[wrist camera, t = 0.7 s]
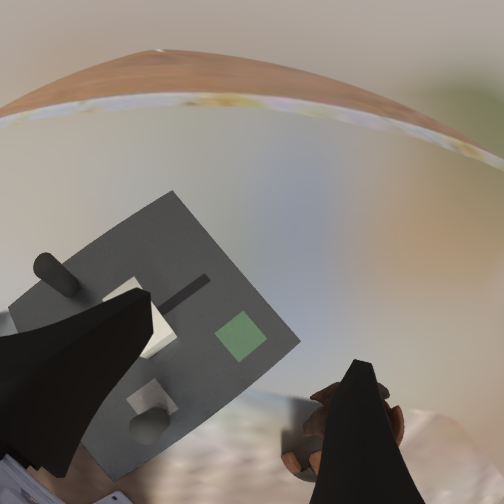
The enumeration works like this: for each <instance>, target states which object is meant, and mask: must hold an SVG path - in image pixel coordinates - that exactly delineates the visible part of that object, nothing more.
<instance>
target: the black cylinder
mask: <svg viewBox="0 0 504 504" xmlns="http://www.w3.org/2000/svg"><path fill="white" fill-rule="evenodd" d="M33 270H34V273H35V275H36V276H37V277H39V278H40V279H41V280H43V281H44V282H45V283H47V284H48V285H49V286H51V287H52V288H54V289H55V290H56V291H58V292H59V293H61V294H62V295H63V296H65V297H71V296H73V295H75V294H76V292H77V290H78V287H79V283H78V280H77V278H76V277H75V276H74V275H72V274H71V273H70V272H69V271H68V270H67V269H66V268H65V267H64V266H63V265H62V264H61V263H60V262H59V261H57V259H55V257H54V256H52V255H51V254H50V253H42V254H40V255H39V256H38V257H37V258H36V260H35V262H34V266H33Z"/></svg>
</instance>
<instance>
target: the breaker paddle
mask: <svg viewBox="0 0 504 504" xmlns="http://www.w3.org/2000/svg"><path fill="white" fill-rule="evenodd" d="M136 287H138V288H140V289H142V287H141V286H140V284H139V283H138V281H137V280H136V278H135V277H132V278H131V279H129V280H128V281H127V282H125V283H124V284H122V285H121V286H120V287H118V288H117V289H115V290H114V291H113V292H111V293H110V294H108V295H107V296H106V297H104V298H103V299H102V300H103V302H105V301H107V300H109V299H111V298H113V297H116V296H118V295H120V294H122V293H124V292H126V291H129V290H131V289H133V288H136ZM151 306H152V318H153V329H154V334H153V335H152V337H151V339H150V340H149V342H148V344H147V345H146V347H145V349H144V350H143V352H142V353H141V355H140V357H143V358H146V359H149V358H150V357H151V356H153V355H154V354H155V353H157V352H158V351H159V350H161V349H162V348H164V347H165V346H166V345H168V344H169V343H170V342H172V341H173V340H174V339H176V338H177V336H176V334H175V333H174V331H173V330H172V329H171V327H170V326H169V325H168V323H167V322H166V321H165V319H164V318H163V317H162V315H161V314H160V313H159V311H158V310H157V308H156V307H155V306H154V304H153V303H152V301H151Z"/></svg>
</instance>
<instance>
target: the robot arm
mask: <svg viewBox="0 0 504 504" xmlns="http://www.w3.org/2000/svg"><path fill="white" fill-rule="evenodd" d="M153 334H154V329H153V318H152V306H151V293H150V292H148V291H145V290H143V289H140V288H138V287H136V288H133V289H131V290H129V291H126V292H124V293H122V294H120V295H118V296H116V297H113V298H111V299H109V300H107V301H105V302H103V303H101V304H98V305H96V306H94V307H92V308H90V309H88V310H85V311H83V312H81V313H78V314H76V315H73V316H71V317H69V318H66V319H64V320H61V321H59V322H56V323H53V324H50V325H47V326H44V327H41V328H38V329H34V330H31V331H27V332H22V333H18V334H13V335H9V336H3V337H0V504H38V503H39V504H66V503H65V502H63V501H62V500H61V499H60V498H58V497H57V496H56V495H54V494H53V493H52V492H51V491H49V490H48V489H47V488H46V487H45V486H44V485H42V484H41V483H40V482H39V481H38V480H37V479H35V478H34V477H33V476H32V475H31V474H30V473H29V472H28V471H27V470H26V469H27V468H28V467H29V466H30V465H31V466H32V467H33V468H34V469H35V470H36V471H38V470H39V469H40V467H41V466H42V467H44V468H45V469H46V470H47V471H49V472H50V473H51V474H52V475H54V476H55V477H56V478H63V477H65V476H66V473H67V470H68V468H69V465H70V463H71V460H72V458H73V456H74V453H75V451H76V449H77V447H78V445H79V443H80V441H81V439H82V437H83V435H84V433H85V431H86V430H87V428H88V426H89V424H90V422H91V421H92V419H93V417H94V416H95V414H96V412H97V411H98V409H99V407H100V406H101V404H102V403H103V401H104V400H105V398H106V397H107V396H108V394H109V393H110V392H111V391H112V389H113V388H114V387H115V386H116V384H117V383H118V382H119V381H120V380H121V378H122V377H123V376H124V375H125V373H126V372H127V371H128V370H129V369H130V367H131V366H132V365H133V364H134V362H135V361H136V360H137V359H138V357H139V356H140V355H141V353H142V352H143V350H144V349H145V347H146V345H147V344H148V342H149V340H150V339H151V337H152V335H153ZM30 496H31V497H32V498H33V499H34V500H36V501H37V502H38V503H36V502H34V501H33V500H31V499H30ZM113 496H115V497H116V498H117V500H116V499H114V498H113ZM93 504H133V503H132V502H131V501H130V500H129V499H128V498H127V497H126V496H125V495H124V494H123V493H122V492H121V491H115V492H113V493H111V494H109V495H108V496H106V497H104V498H102V499H100V500H98V501H96V502H95V503H93ZM309 504H425V502H424V500H423V498H422V497H421V495H420V493H419V491H418V490H417V488H416V486H415V484H414V482H413V480H412V478H411V475H410V473H409V471H408V469H407V467H406V464H405V462H404V460H403V457H402V455H401V452H400V450H399V447H398V445H397V442H396V439H395V437H394V434H393V431H392V428H391V425H390V422H389V419H388V416H387V413H386V410H385V407H384V403H383V400H382V397H381V393H380V390H379V387H378V383H377V380H376V376H375V373H374V369H373V366H372V364H371V363H368V362H364V361H360V360H356V359H354V360H353V362H352V364H351V365H350V367H349V369H348V371H347V372H346V374H345V376H344V377H343V379H342V381H341V382H340V384H339V385H338V387H337V389H336V390H335V392H334V394H333V396H332V400H331V404H330V408H329V412H328V416H327V420H326V427H325V434H324V440H323V447H322V453H321V459H320V465H319V470H318V476H317V480H316V484H315V488H314V491H313V494H312V497H311V500H310V503H309Z"/></svg>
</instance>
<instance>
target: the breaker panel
mask: <svg viewBox="0 0 504 504" xmlns="http://www.w3.org/2000/svg"><path fill="white" fill-rule="evenodd" d="M62 265H63V266H64V267H65V268H66V269H67V270H68V271H69V272H70V273H71V274H72V275H74V276H75V277H76V278H77V280H78V283H79V287H78V290H77V292H76V294H75V295H73V296H71V297H65V296H63V295H62V294H61V293H59V292H58V291H56V290H55V289H54V288H52V287H51V286H49V285H48V284H47V283H45V282H44V281H43V280H40V281H39V282H38V283H37V284H35V285H34V286H33V287H32V288H30V289H29V290H28V291H27V292H26V293H24V294H23V295H22V296H21V297H20V298H18V299H17V300H16V301H15V302H14V303H12V304H11V305H10V306H9V307H8V309H9V311H10V314H11V316H12V319H13V321H14V324H15V326H16V328H17V331H18V333H22V332H27V331H31V330H34V329H38V328H41V327H44V326H47V325H50V324H53V323H56V322H59V321H61V320H64V319H66V318H69V317H71V316H73V315H76V314H78V313H81V312H83V311H85V310H88V309H90V308H92V307H94V306H96V305H98V304H101V303H103V300H102V299H103V298H104V297H106V296H107V295H108V294H110V293H111V292H113V291H114V290H115V289H117V288H118V287H120V286H121V285H122V284H124V283H125V282H127V281H128V280H129V279H131V278H132V277H135V278H136V280H137V281H138V283H139V284H140V286H141V287H142V289H143V290H145V291H148V292H150V293H151V301H152V303H153V304H154V306H155V307H156V308H157V310H158V311H159V313H160V314H161V315H162V317H163V318H164V319H165V321H166V322H167V323H168V325H169V326H170V327H171V329H172V330H173V331H174V333H175V334H176V336H177V338H176V339H174V340H173V341H172V342H170V343H169V344H168V345H166V346H165V347H164V348H162V349H161V350H159V351H158V352H157V353H155V354H154V355H153V356H151V357H150V358H149V359H146V358H143V357H140V356H139V357H138V359H137V360H136V361H135V362H134V364H133V365H132V366H131V367H130V369H129V370H128V371H127V372H126V373H125V375H124V376H123V377H122V378H121V380H120V381H119V382H118V383H117V384H116V386H115V387H114V388H113V389H112V391H111V392H110V393H109V394H108V396H107V397H106V398H105V400H104V401H103V403H102V404H101V406H100V407H99V409H98V411H97V412H96V414H95V416H94V417H93V419H92V421H91V422H90V424H89V426H88V428H87V430H86V431H85V433H84V435H83V437H82V439H81V442H82V444H83V445H84V446H85V448H86V449H87V450H88V452H89V453H90V454H91V455H92V457H93V458H94V459H95V460H96V462H97V463H98V464H99V465H100V467H101V468H102V469H103V470H104V471H105V472H106V474H107V475H108V476H109V477H110V478H111V479H112V480H113V482H114V481H116V480H118V479H119V478H121V477H123V476H124V475H126V474H128V473H129V472H131V471H133V470H134V469H136V468H138V467H139V466H141V465H142V464H144V463H145V462H147V461H148V460H150V459H152V458H153V457H155V456H156V455H158V454H159V453H161V452H162V451H164V450H165V449H167V448H168V447H170V446H171V445H172V444H174V443H175V442H177V441H178V440H180V439H181V438H182V437H184V436H185V435H187V434H188V433H189V432H191V431H192V430H194V429H195V428H196V427H198V426H199V425H200V424H202V423H203V422H205V421H206V420H207V419H209V418H210V417H211V416H212V415H214V414H215V413H216V412H218V411H219V410H220V409H222V408H223V407H224V406H225V405H227V404H228V403H229V402H231V401H232V400H233V399H234V398H236V397H237V396H238V395H239V394H241V393H242V392H243V391H244V390H245V389H247V388H248V387H249V386H250V385H252V384H253V383H254V382H255V381H256V380H258V379H259V378H260V377H261V376H262V375H263V374H264V373H266V372H267V371H268V370H269V369H270V368H271V367H273V366H274V365H275V364H276V363H277V362H278V361H279V360H281V359H282V358H283V357H284V356H285V355H286V354H287V353H289V352H290V351H291V350H292V349H293V348H294V347H295V346H296V345H297V344H299V343H300V342H301V341H300V340H299V338H298V337H297V336H296V335H295V334H294V333H293V332H292V331H291V330H290V328H289V327H288V326H287V325H286V324H285V323H284V321H283V320H282V319H281V318H280V317H279V316H278V314H277V313H276V312H275V311H274V310H273V309H272V308H271V306H270V305H269V304H268V303H267V302H266V301H265V300H264V298H263V297H262V296H261V295H260V294H259V293H258V291H257V290H256V289H255V288H254V287H253V286H252V285H251V283H250V282H249V281H248V280H247V279H246V277H245V276H244V275H243V274H242V273H241V272H240V271H239V269H238V268H237V267H236V266H235V265H234V263H233V262H232V261H231V260H230V259H229V258H228V256H227V255H226V254H225V253H224V252H223V250H222V249H221V248H220V247H219V246H218V245H217V243H216V242H215V241H214V240H213V239H212V237H211V236H210V235H209V234H208V233H207V231H206V230H205V229H204V228H203V227H202V225H201V224H200V223H199V222H198V221H197V220H196V218H195V217H194V216H193V215H192V214H191V212H190V211H189V210H188V209H187V208H186V206H185V205H184V204H183V203H182V201H181V200H180V199H179V198H178V197H177V196H176V194H175V193H174V192H173V191H170V192H169V193H167V194H165V195H164V196H162V197H160V198H159V199H157V200H156V201H154V202H153V203H151V204H149V205H147V206H146V207H144V208H143V209H141V210H140V211H138V212H136V213H135V214H133V215H132V216H130V217H129V218H127V219H126V220H125V221H122V222H121V223H119V224H118V225H116V226H115V227H113V228H112V229H111V230H109V231H107V232H106V233H105V234H103V235H102V236H100V237H99V238H97V239H96V240H94V241H93V242H92V243H90V244H89V245H87V246H86V247H85V248H83V249H82V250H80V251H79V252H78V253H76V254H75V255H74V256H72V257H71V258H70V259H68V260H67V261H65V262H64V263H63V264H62ZM154 407H157V408H161V409H163V410H164V411H166V412H167V414H168V416H169V418H170V423H169V426H168V427H167V429H166V430H165V431H164V432H163V434H162V435H161V436H160V437H159V439H158V440H157V441H156V442H154V443H152V444H148V445H145V444H141V443H139V442H137V441H136V440H134V439H133V437H132V436H131V434H130V432H129V423H130V421H131V420H132V418H134V417H135V416H137V415H139V414H141V413H143V412H145V411H147V410H148V409H150V408H154Z"/></svg>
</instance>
